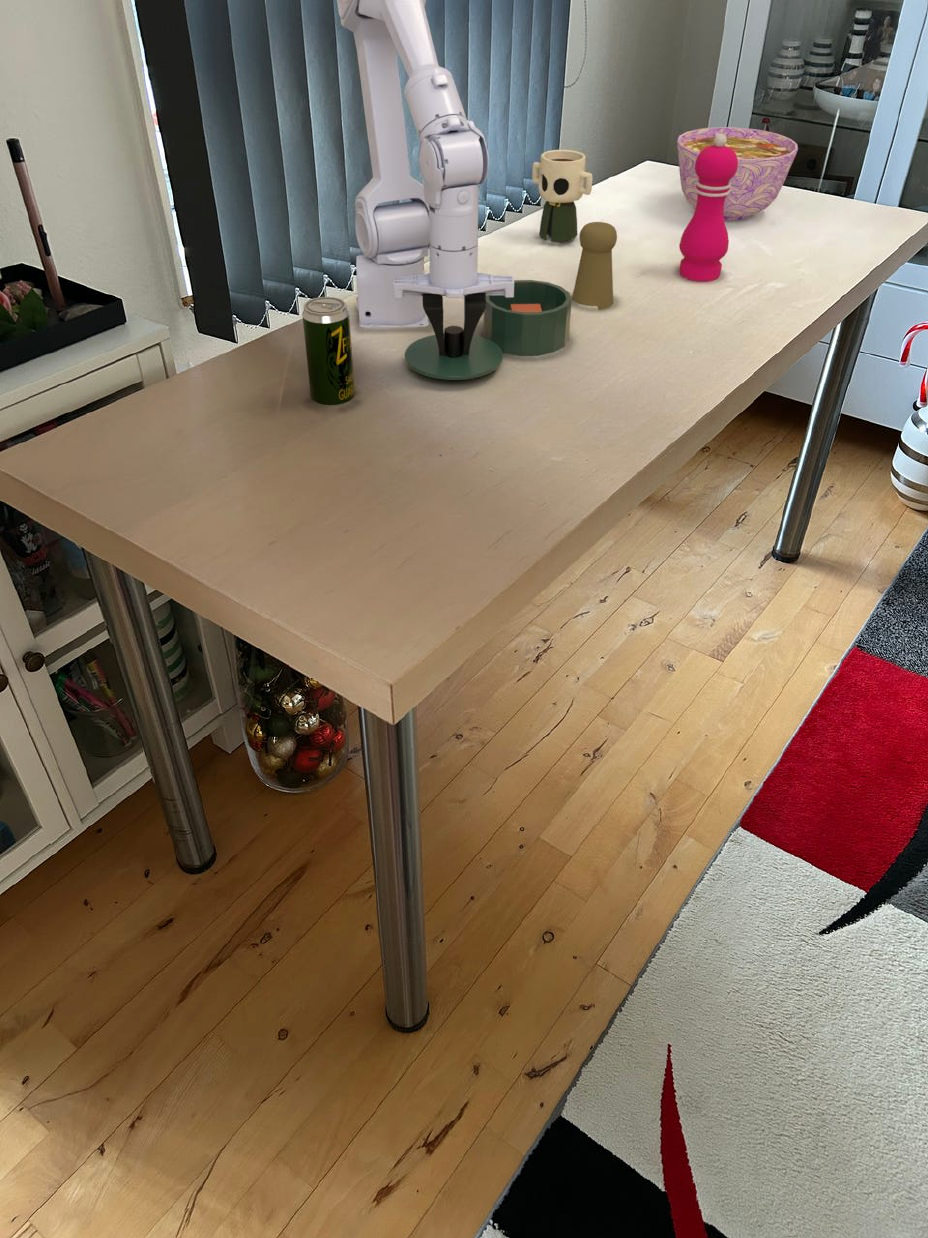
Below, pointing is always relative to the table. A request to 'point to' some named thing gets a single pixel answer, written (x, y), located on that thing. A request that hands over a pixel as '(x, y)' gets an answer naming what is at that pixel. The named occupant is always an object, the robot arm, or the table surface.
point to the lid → (453, 356)
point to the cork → (595, 266)
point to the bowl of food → (740, 167)
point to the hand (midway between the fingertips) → (453, 351)
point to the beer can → (329, 351)
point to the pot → (529, 319)
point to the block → (526, 307)
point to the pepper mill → (708, 213)
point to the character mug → (561, 192)
